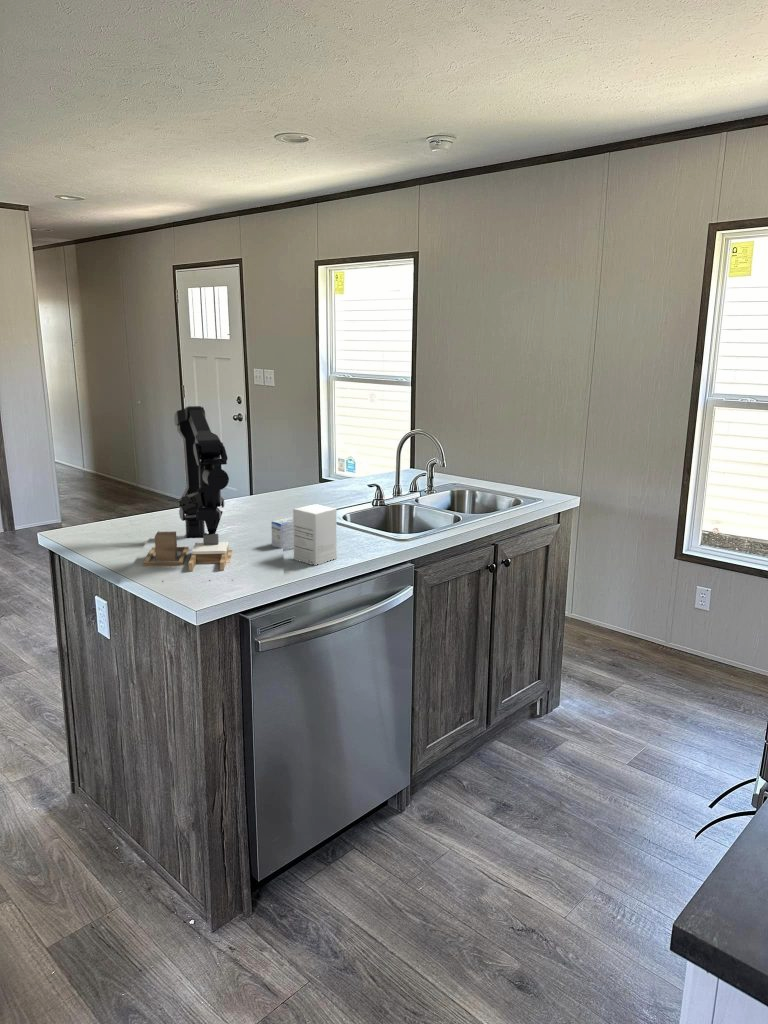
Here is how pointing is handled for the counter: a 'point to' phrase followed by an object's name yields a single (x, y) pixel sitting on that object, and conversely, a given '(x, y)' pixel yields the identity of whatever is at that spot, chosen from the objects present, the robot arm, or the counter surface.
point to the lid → (210, 545)
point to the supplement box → (315, 534)
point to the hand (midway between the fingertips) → (211, 537)
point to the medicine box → (283, 533)
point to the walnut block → (166, 545)
